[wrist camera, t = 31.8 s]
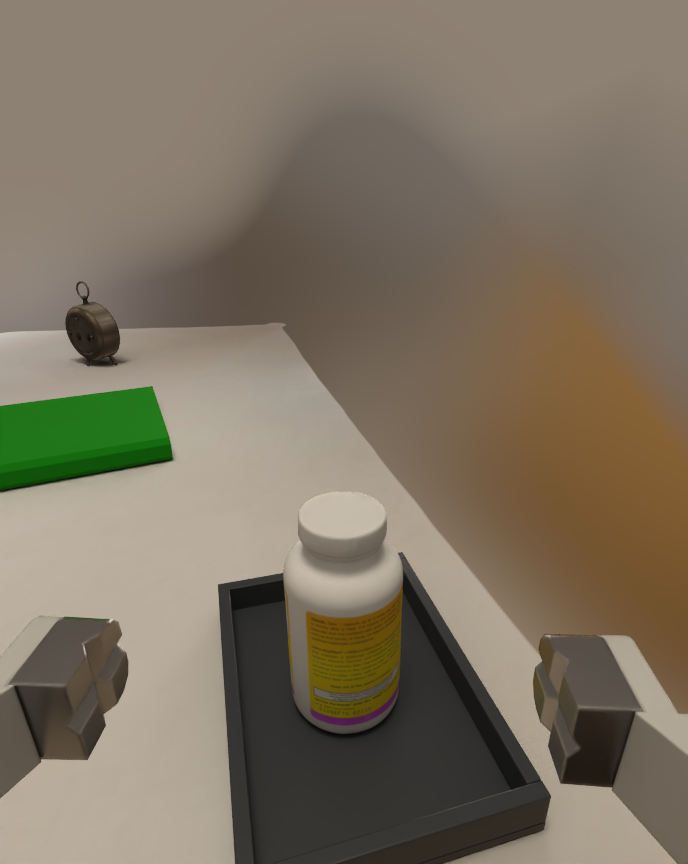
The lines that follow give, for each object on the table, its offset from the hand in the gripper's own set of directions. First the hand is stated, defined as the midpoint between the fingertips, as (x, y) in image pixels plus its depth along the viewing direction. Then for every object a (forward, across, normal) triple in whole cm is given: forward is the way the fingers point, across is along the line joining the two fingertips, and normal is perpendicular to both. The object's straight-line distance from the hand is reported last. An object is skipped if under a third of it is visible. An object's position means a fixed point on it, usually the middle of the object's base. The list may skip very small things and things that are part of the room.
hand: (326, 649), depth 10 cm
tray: (+16, 0, +20) cm, 26 cm away
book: (+51, +41, +20) cm, 69 cm away
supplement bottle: (+16, +1, +20) cm, 25 cm away
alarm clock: (+91, +55, +20) cm, 109 cm away
